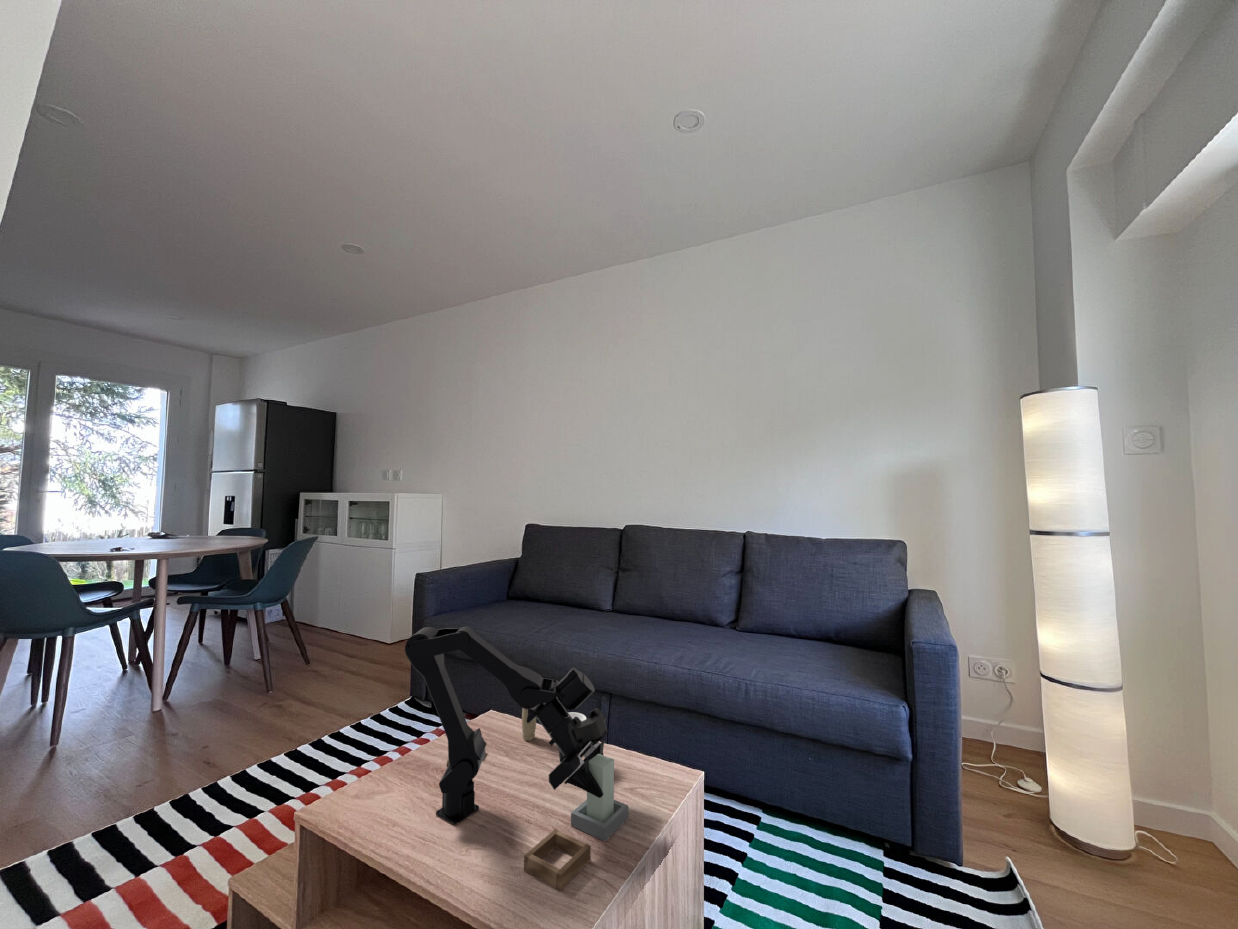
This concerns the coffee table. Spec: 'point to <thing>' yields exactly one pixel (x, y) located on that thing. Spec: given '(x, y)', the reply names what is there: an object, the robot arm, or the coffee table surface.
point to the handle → (528, 726)
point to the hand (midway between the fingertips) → (606, 789)
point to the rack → (550, 872)
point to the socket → (597, 827)
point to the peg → (602, 788)
